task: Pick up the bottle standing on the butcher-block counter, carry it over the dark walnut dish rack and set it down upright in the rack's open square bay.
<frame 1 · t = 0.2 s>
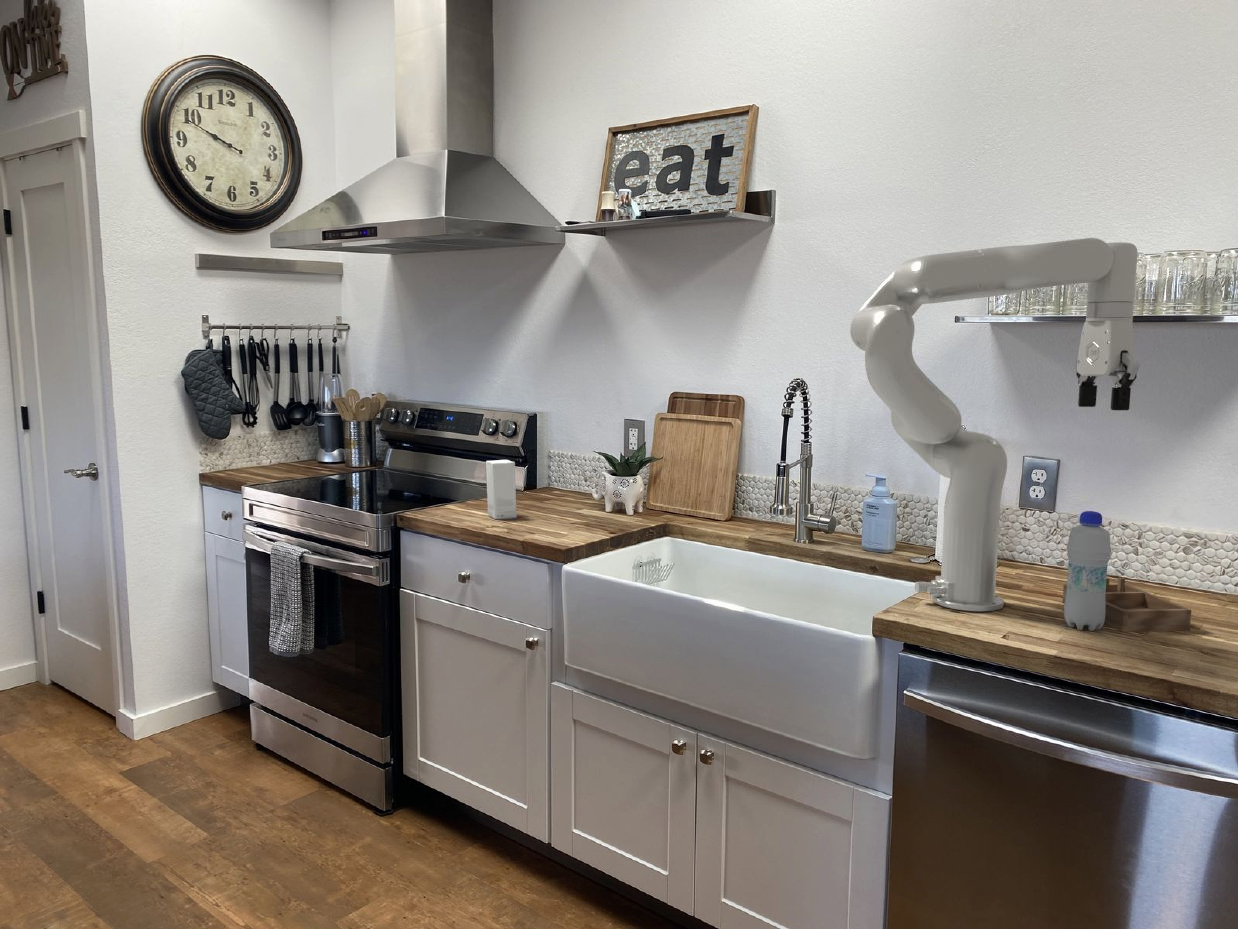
hand: (1102, 408, 171), 36 cm above the countertop, tool pointing down, fingers open, 9 cm apart
rack: (1122, 615, 166), on the countertop
skincare box: (501, 517, 260), on the countertop
bottle: (1083, 628, 160), on the countertop
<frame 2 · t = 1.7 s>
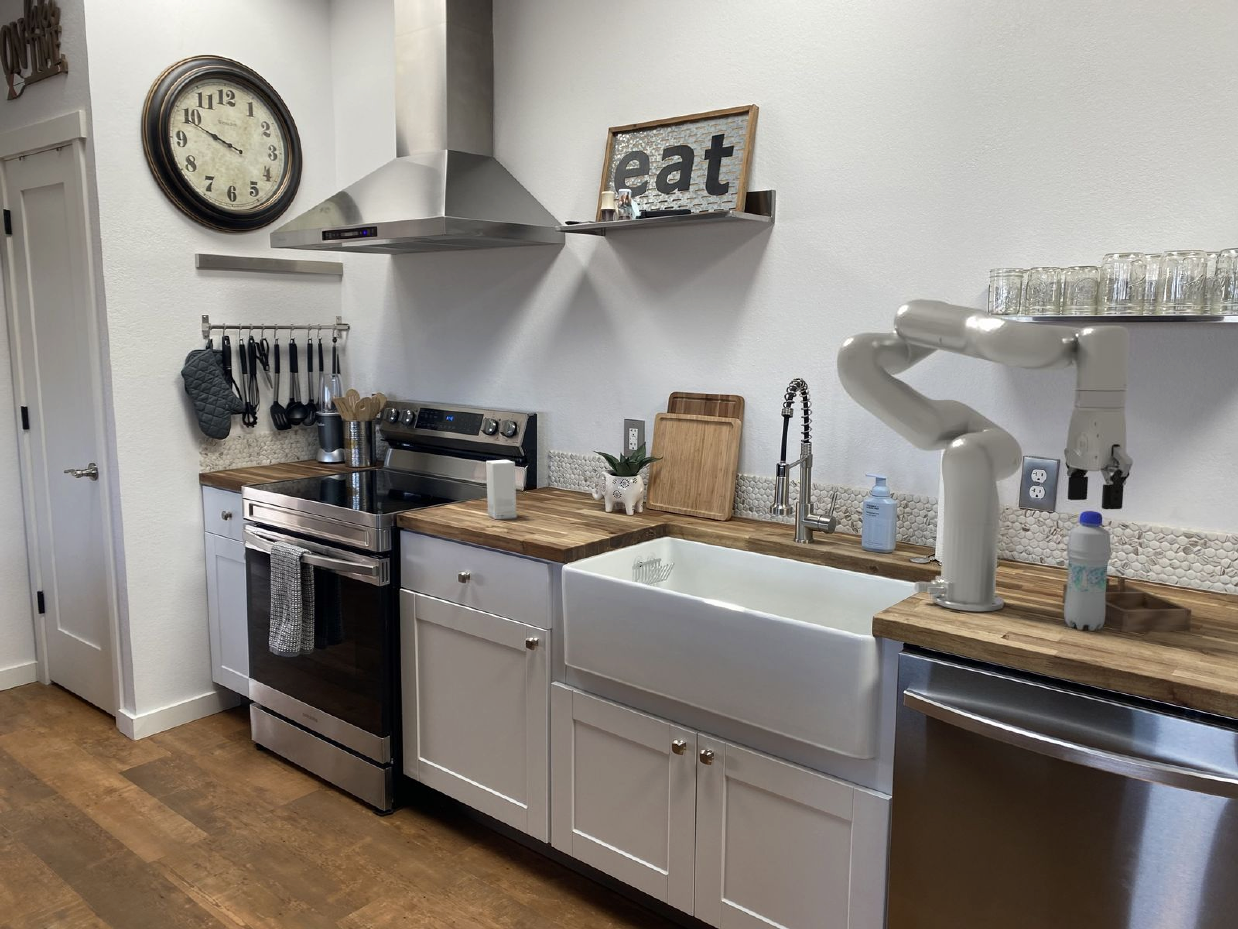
hand: (1093, 504, 157), 21 cm above the countertop, tool pointing down, fingers open, 9 cm apart
nothing on the countertop moved.
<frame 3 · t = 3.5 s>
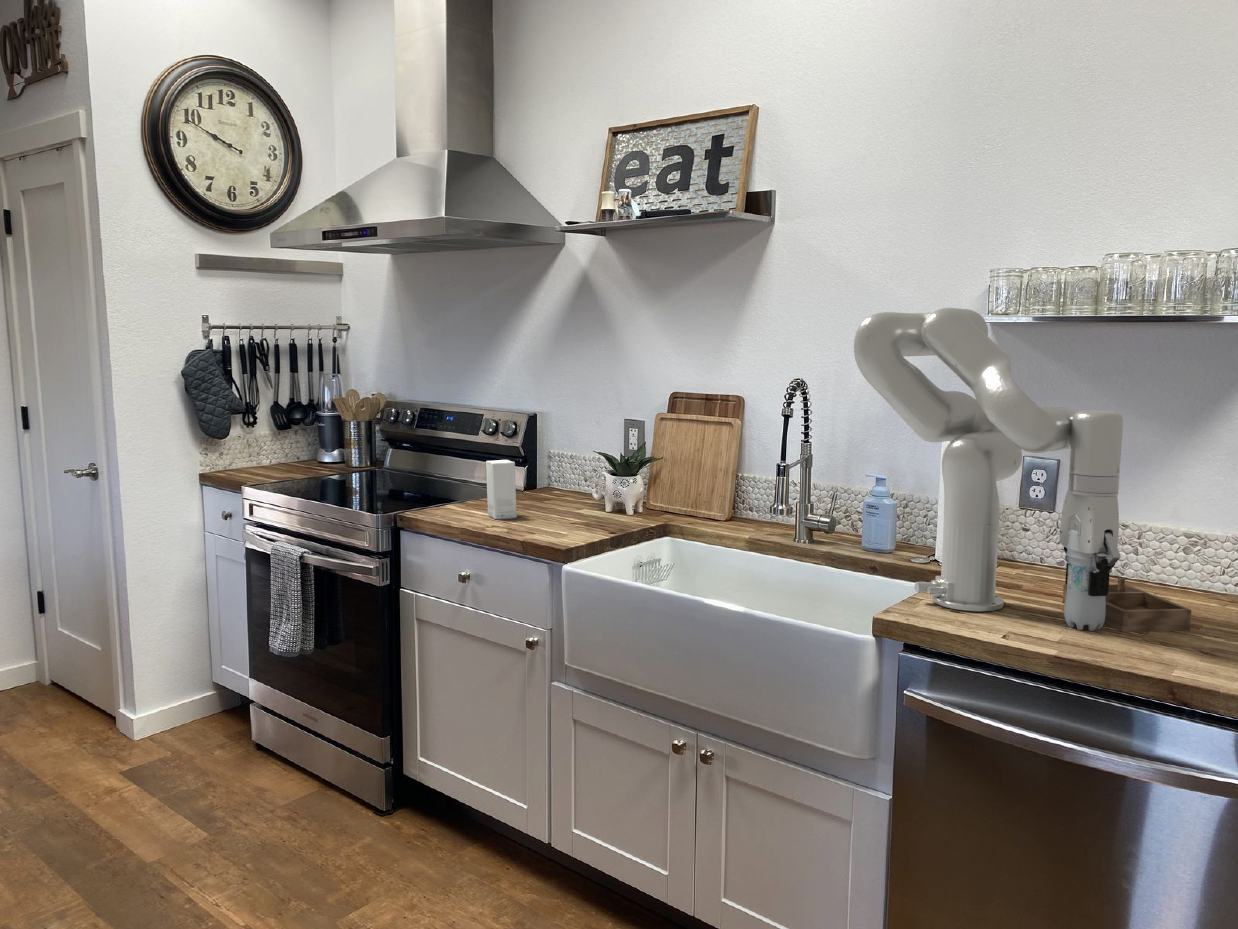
hand: (1086, 589, 159), 7 cm above the countertop, tool pointing down, fingers closed on bottle, 5 cm apart
bottle: (1083, 628, 160), on the countertop, touching gripper
everything else where it was.
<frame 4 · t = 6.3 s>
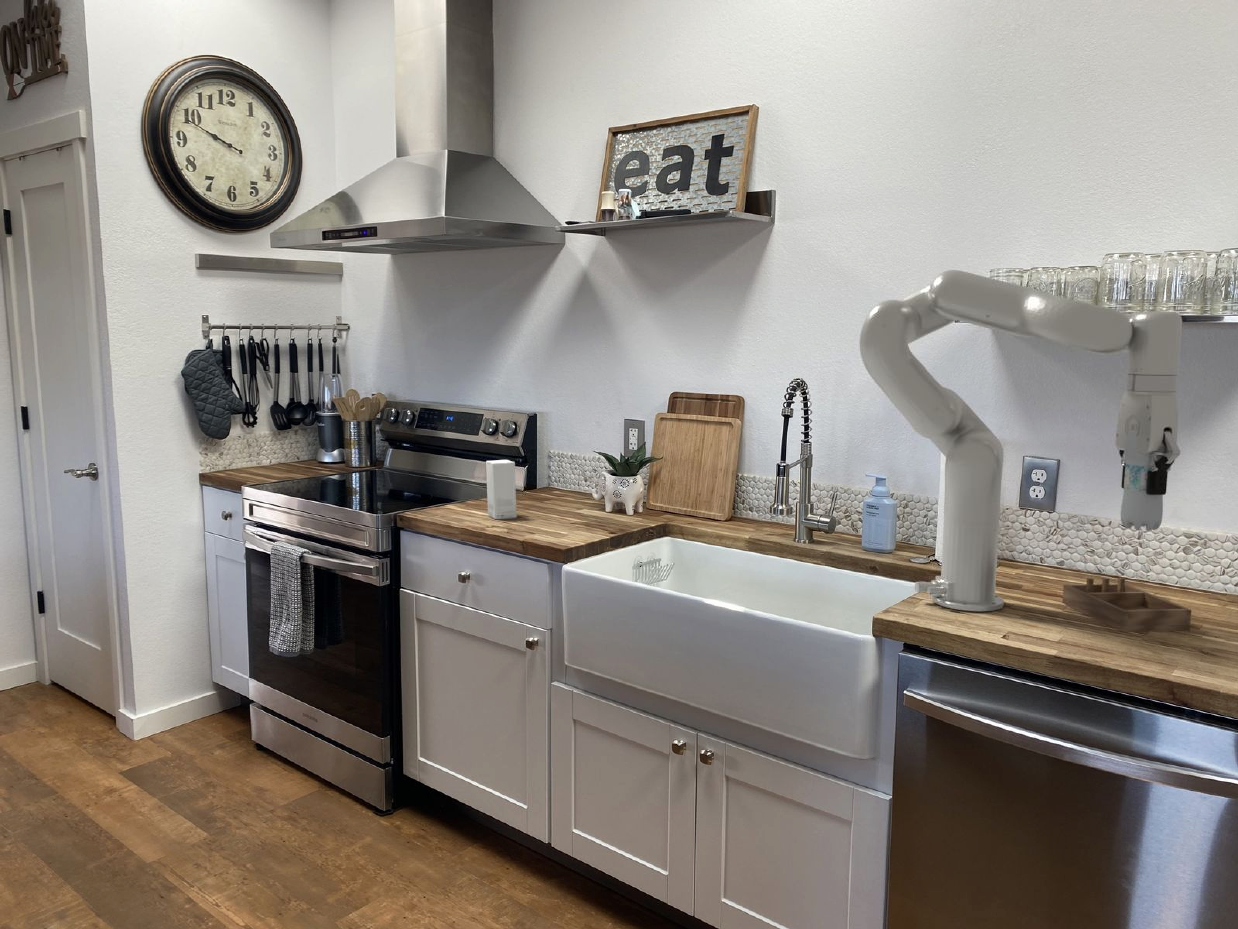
hand: (1143, 490, 161), 23 cm above the countertop, tool pointing down, fingers closed on bottle, 5 cm apart
bottle: (1140, 529, 162), point 16 cm above the countertop, touching gripper
everything else where it was.
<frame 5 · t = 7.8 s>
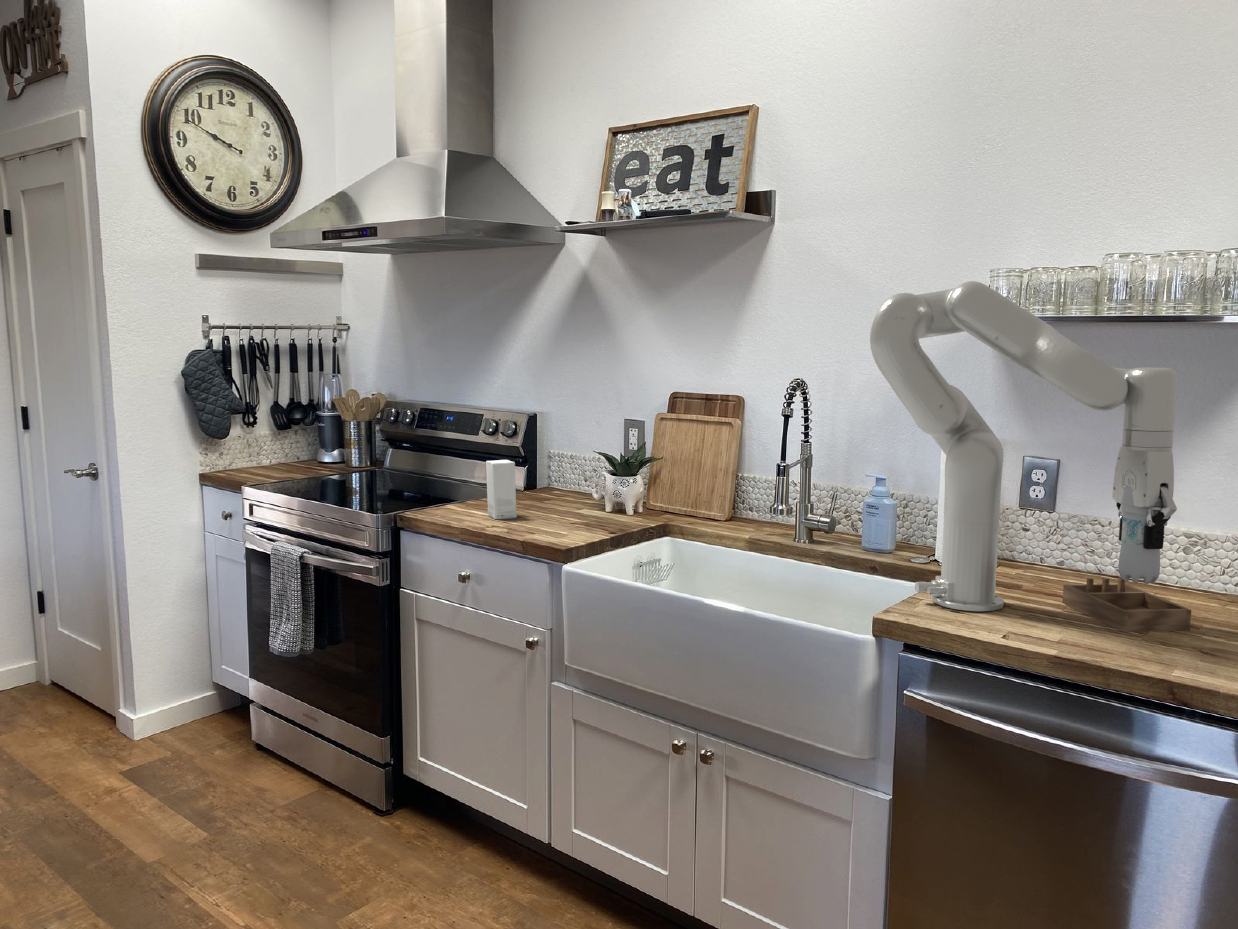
hand: (1140, 543, 162), 14 cm above the countertop, tool pointing down, fingers closed on bottle, 5 cm apart
bottle: (1137, 582, 163), point 7 cm above the countertop, touching gripper
everything else where it was.
when the fingers open (9 cm above the countertop, at t = 9.2 s): bottle drops 1 cm, resting on rack.
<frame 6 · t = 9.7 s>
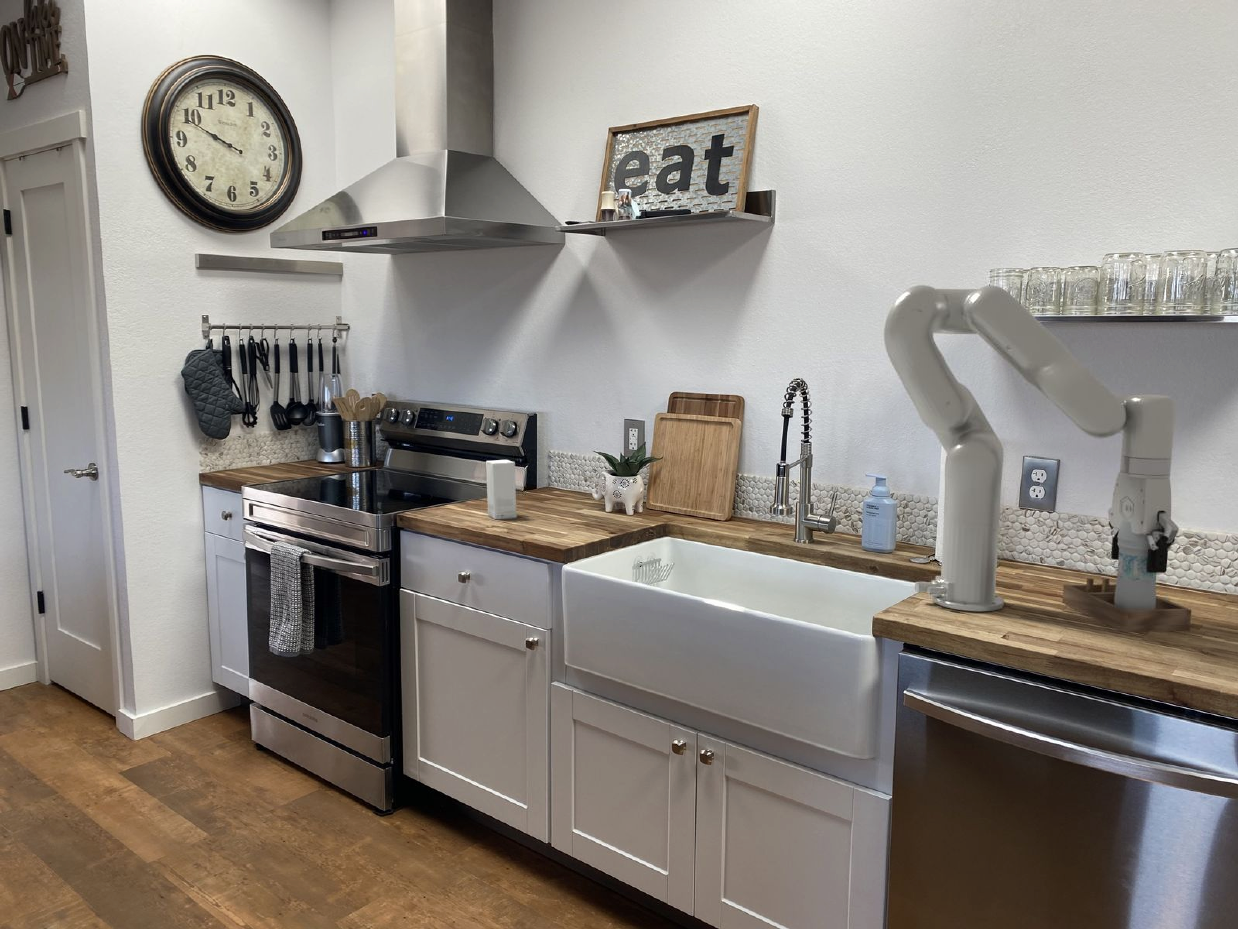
hand: (1137, 565, 162), 10 cm above the countertop, tool pointing down, fingers open, 9 cm apart
bottle: (1133, 616, 163), point 1 cm above the countertop, touching rack
everything else where it was.
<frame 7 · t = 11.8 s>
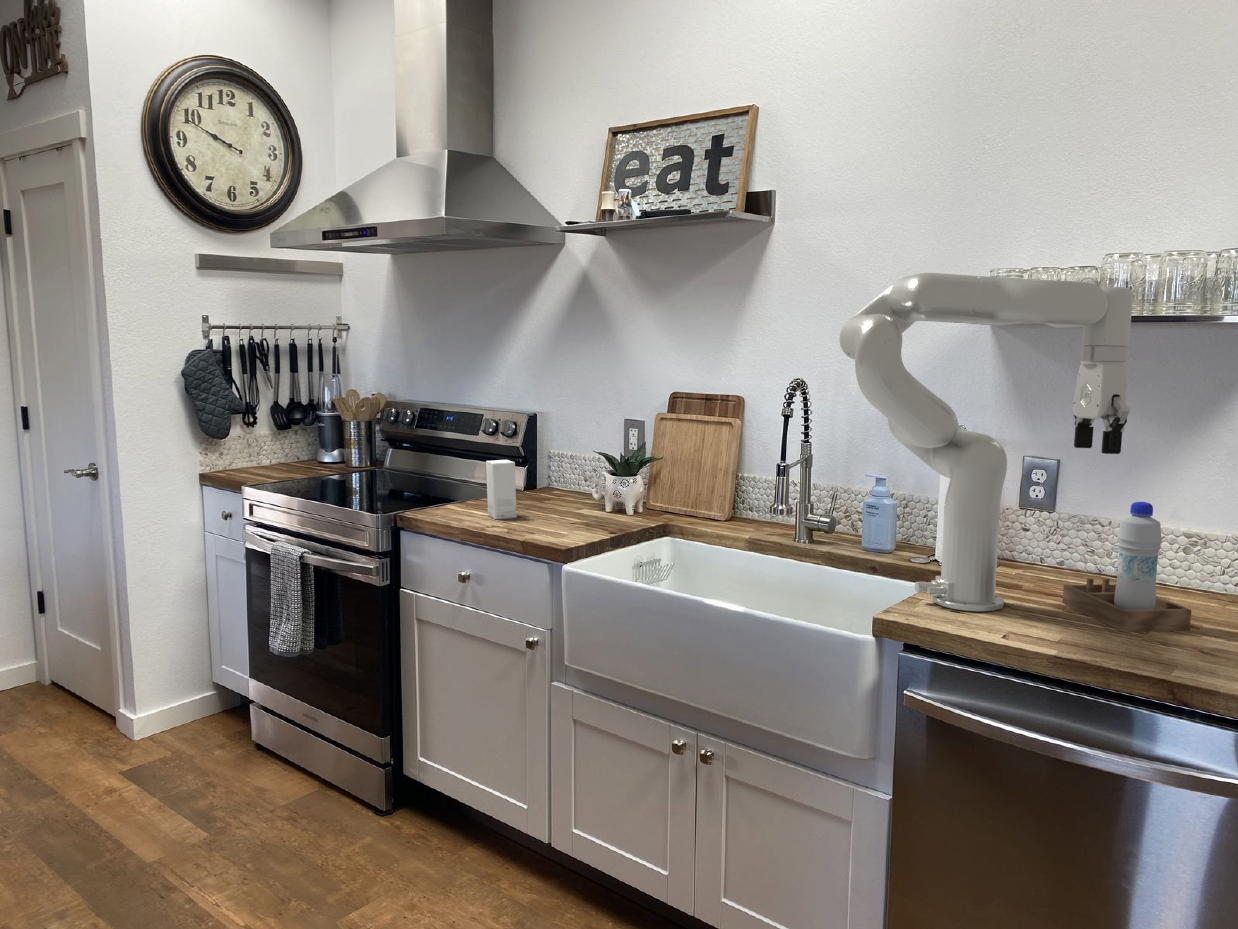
hand: (1096, 450, 172), 28 cm above the countertop, tool pointing down, fingers open, 9 cm apart
nothing on the countertop moved.
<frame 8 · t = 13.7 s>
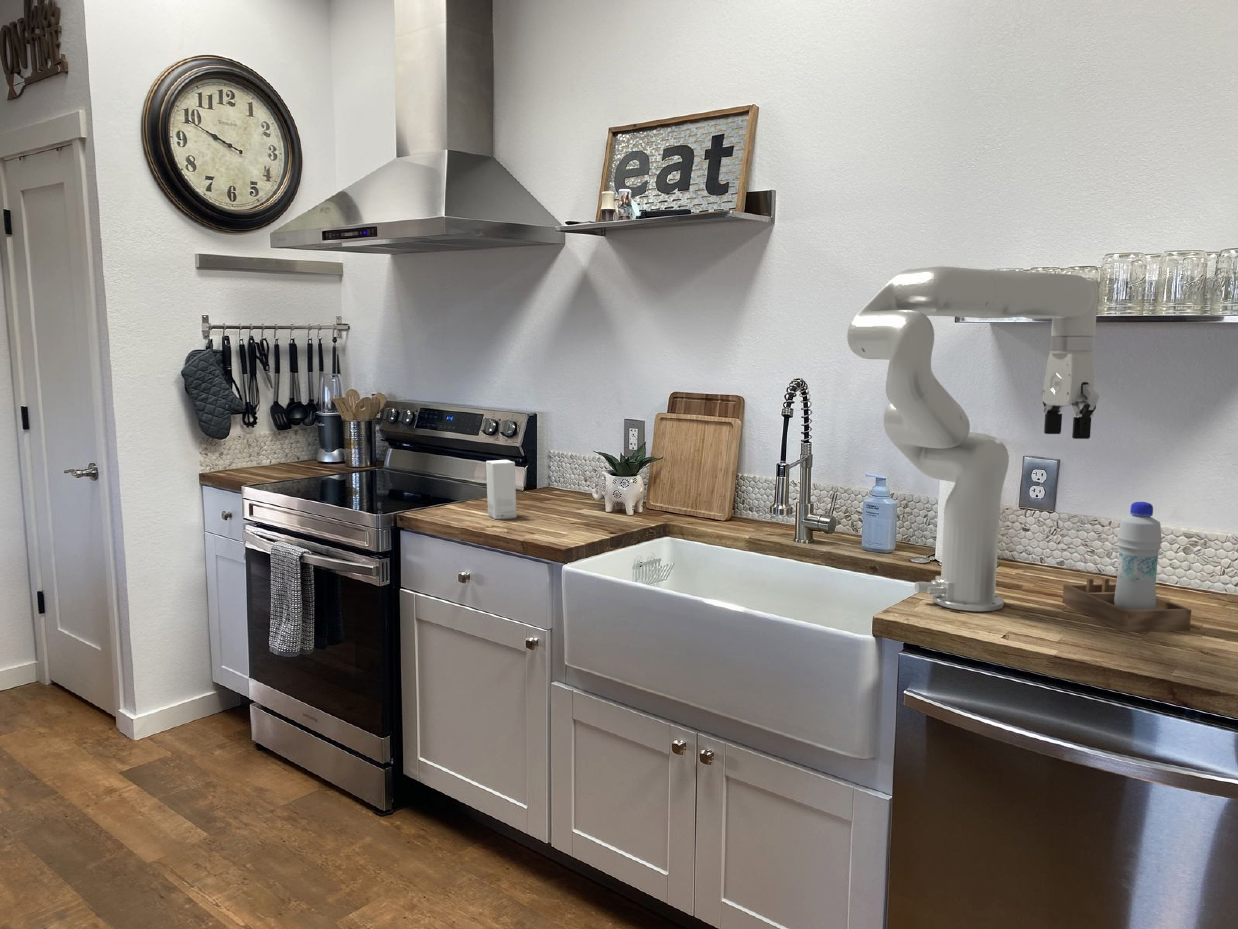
hand: (1066, 436, 180), 30 cm above the countertop, tool pointing down, fingers open, 9 cm apart
nothing on the countertop moved.
at the end: bottle inside the target area on the rack (0.3 cm from its centre), point 0.8 cm above the rack's base; bottle tilted 0°; the gripper is holding nothing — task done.
